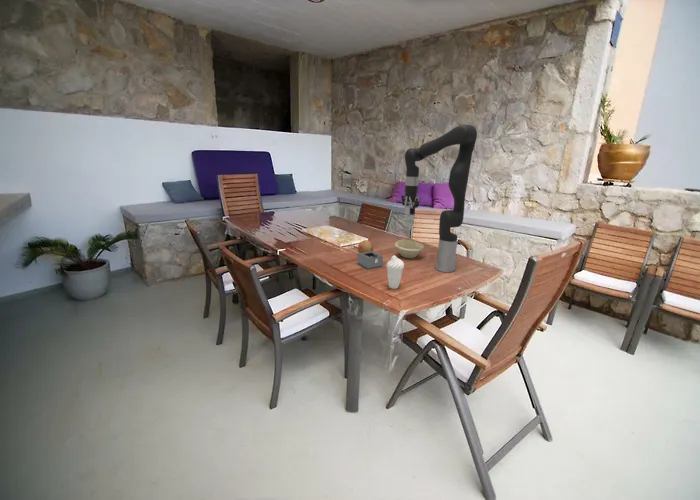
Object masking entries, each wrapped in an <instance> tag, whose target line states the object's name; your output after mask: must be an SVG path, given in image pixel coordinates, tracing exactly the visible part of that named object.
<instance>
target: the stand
mask: <svg viewBox="0 0 700 500" xmlns="http://www.w3.org/2000/svg"><path fill="white" fill-rule="evenodd" d="M383 261H384V255H382V254H380V253H378V252H375V251H374V250H373V251H370V252H364V253H359V252H358V253H357V262H355V265H357V266H358V267H359V266H360V267H361V268H363V269H364V270H366V271H369V270H374V269H378V268H385V265H384V263H383Z"/></svg>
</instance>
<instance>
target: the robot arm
mask: <svg viewBox="0 0 700 500" xmlns="http://www.w3.org/2000/svg"><path fill="white" fill-rule="evenodd" d="M477 135H478V131H477V128H476V126H474V125H472V124H466V123H465V124H464V123H463V124H460V125H457V126H455V127H454V128H452V129H450V130H449V131H448V132H445V133H444V134H442V135H441V136H439V137H437V138H434V139H432V140H430V141H427V142H425V143H422V144H421V145H420V147H418V148H416V147H415V148H413V147H412V148H411V147H409V148H408V149H407V150H406V151H405V153H404V162H405V167H406V175H405V176H406V177H405V180H404V183H405V184H404V193H405V194H404V195H401V197H400V198H401V203H402V206H403V207H404V206H405V205H411V215H414V216H415V212H416V209H417V208H419V205H420V202H421V197H418V195H417V194H418V191H419V181H420V180H419V179H420V178H419V175H420V168H419V166H418V165H416V162H420V161H423V160H424V159H426V158H427V157H431V156H432V155H433V156H434V155H435V154H438V153H439V152H441V151H442V150H444V149H446V148H447V147H450V146H451V147H452V146H454V145H455V146H456V145H459V148H458V154H457V156H456V159H455V161H454V163H453V164H452V167H451V169H450V171H449V177H448V188H449V191H450V194H451V196H452V198H453V209H447V210H446V209H445V210H443V211H441V213H440V215H439V224H438V227H439V228H438V235H439V237H438V248H437V256H436V266H435V269H436V270H437V271H439V272H443V273H451V272H454V271H456V263H457V254H456V249H457V242H458V235H457V234H456V233H454V232H451V228H459V227H461V226H462V224H463V221H464V215H465V201H466V194H467V187H468V181H469V175H470V169H471V163H472V157H473V152H474V148H475V145H476V143H477V142H476V141H477V138H478V137H477Z"/></svg>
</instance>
